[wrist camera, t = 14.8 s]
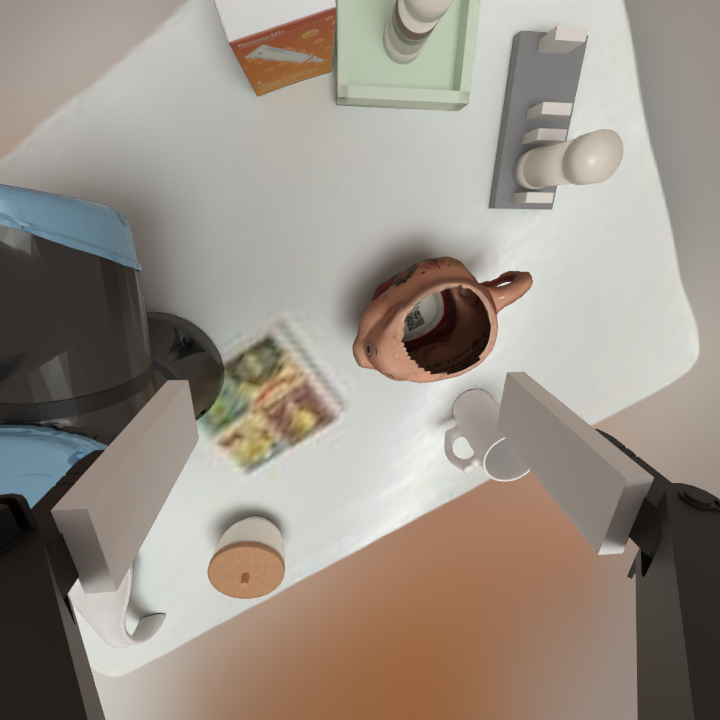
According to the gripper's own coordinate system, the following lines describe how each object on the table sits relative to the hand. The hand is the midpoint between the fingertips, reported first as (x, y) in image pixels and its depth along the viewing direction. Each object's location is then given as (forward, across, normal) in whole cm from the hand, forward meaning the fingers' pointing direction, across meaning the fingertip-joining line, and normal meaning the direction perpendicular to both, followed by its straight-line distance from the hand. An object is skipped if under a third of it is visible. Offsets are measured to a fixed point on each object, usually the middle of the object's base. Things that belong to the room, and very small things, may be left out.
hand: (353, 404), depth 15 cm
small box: (+32, +5, -22) cm, 39 cm away
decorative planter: (+32, -11, +3) cm, 34 cm away
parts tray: (+32, -7, -23) cm, 40 cm away
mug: (+32, -19, +20) cm, 42 cm away
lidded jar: (+32, +13, +41) cm, 54 cm away
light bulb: (+31, -7, -23) cm, 39 cm away
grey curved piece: (+32, +35, +49) cm, 69 cm away
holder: (+32, -22, -16) cm, 42 cm away
